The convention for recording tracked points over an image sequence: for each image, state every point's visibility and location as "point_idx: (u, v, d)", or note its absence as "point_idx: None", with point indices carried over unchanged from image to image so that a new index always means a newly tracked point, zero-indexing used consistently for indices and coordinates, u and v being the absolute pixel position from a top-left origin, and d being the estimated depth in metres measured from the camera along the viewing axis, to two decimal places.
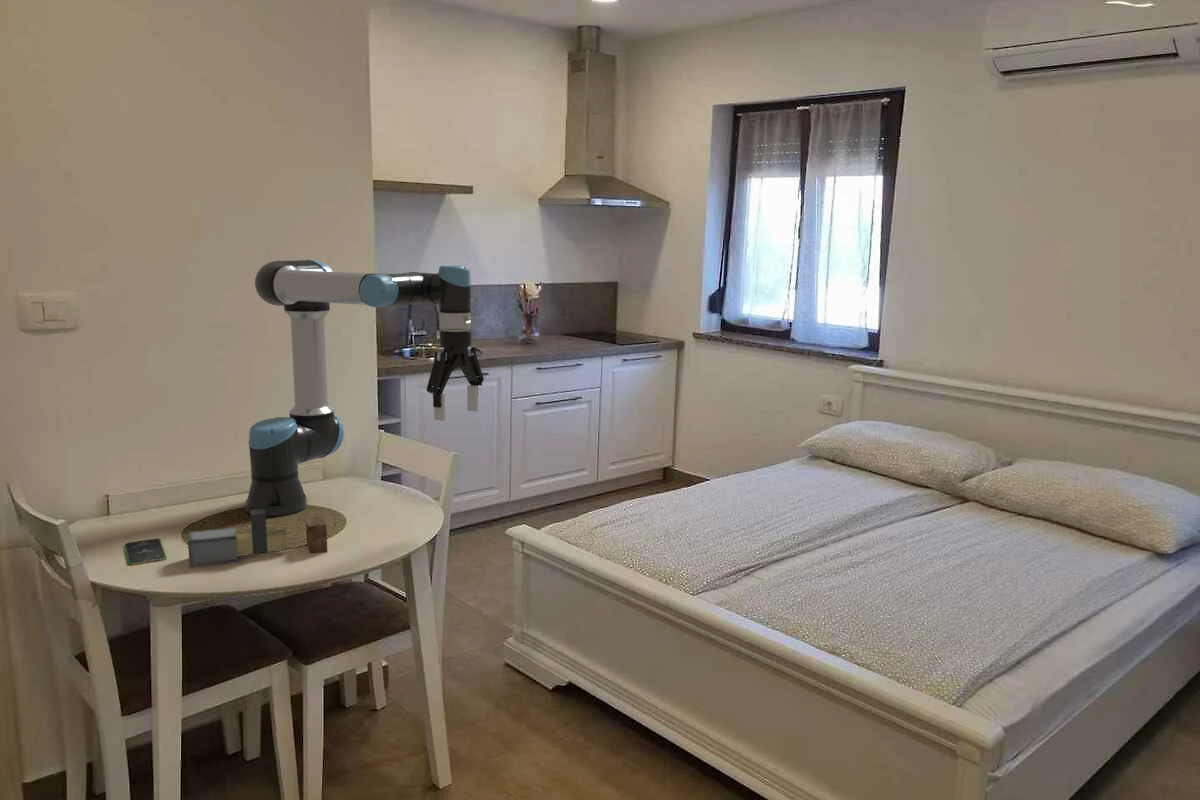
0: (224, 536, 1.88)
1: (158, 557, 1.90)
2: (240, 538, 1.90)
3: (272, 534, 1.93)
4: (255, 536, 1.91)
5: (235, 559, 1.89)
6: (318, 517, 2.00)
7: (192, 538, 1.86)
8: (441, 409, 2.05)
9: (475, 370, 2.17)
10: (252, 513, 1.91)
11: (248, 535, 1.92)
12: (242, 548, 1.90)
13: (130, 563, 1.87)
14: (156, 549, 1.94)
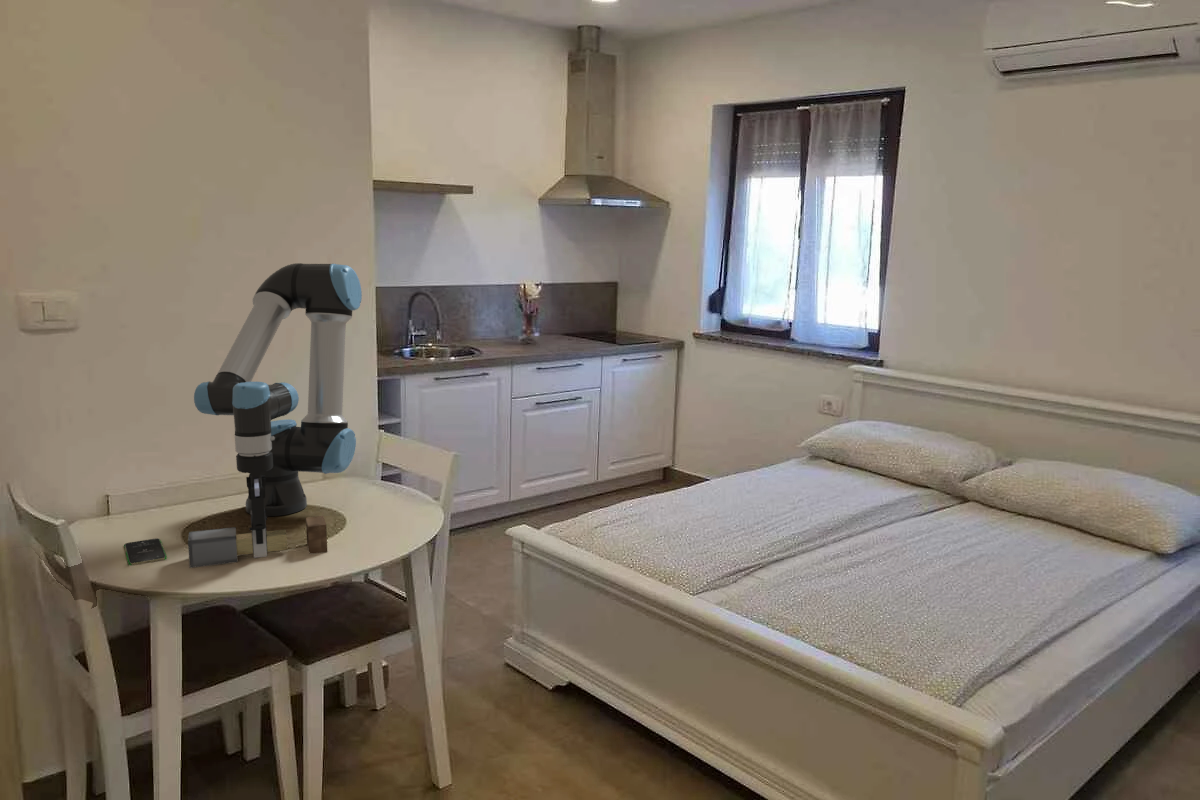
0: (224, 536, 1.88)
1: (158, 557, 1.90)
2: (240, 538, 1.90)
3: (272, 534, 1.93)
4: None
5: (235, 559, 1.89)
6: (318, 517, 2.00)
7: (192, 538, 1.86)
8: (263, 544, 1.91)
9: None
10: None
11: (248, 535, 1.92)
12: (242, 548, 1.90)
13: (130, 563, 1.87)
14: (156, 549, 1.94)
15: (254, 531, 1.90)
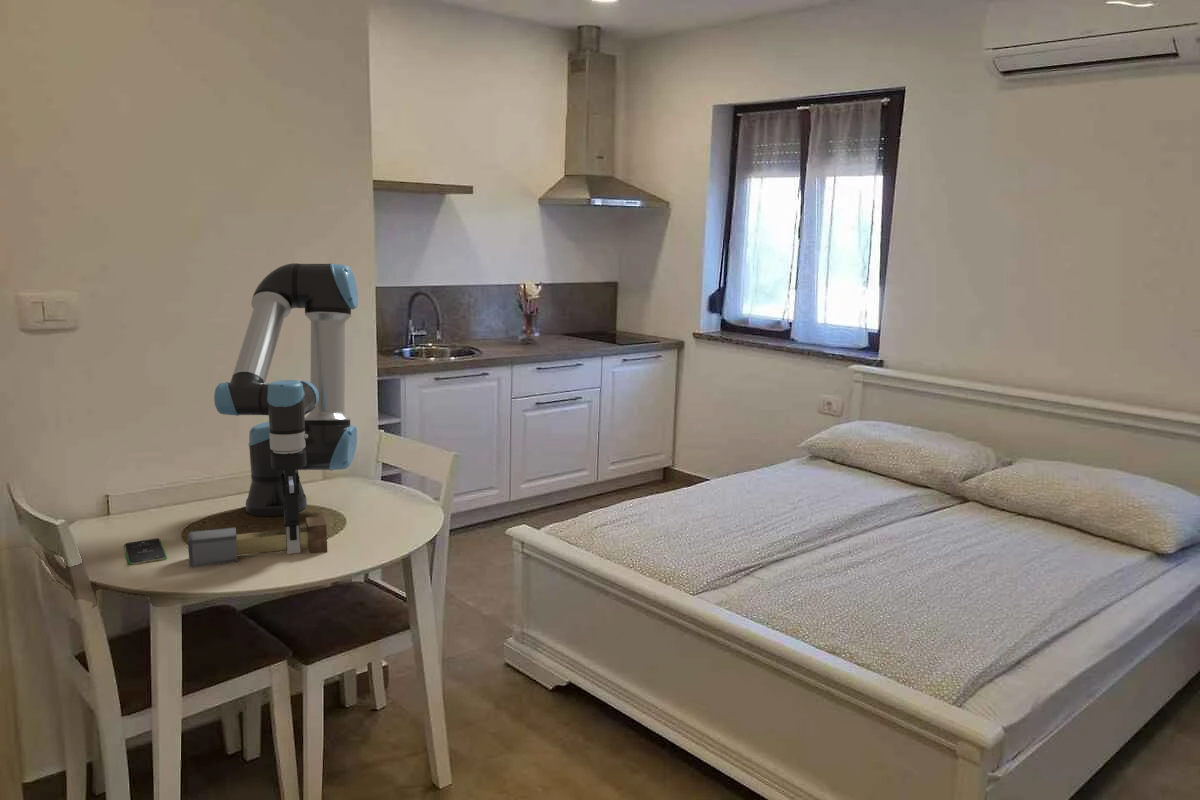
0: (224, 536, 1.88)
1: (158, 557, 1.90)
2: (274, 535, 1.93)
3: (305, 530, 1.96)
4: None
5: (235, 559, 1.89)
6: (318, 517, 2.00)
7: (192, 538, 1.86)
8: (297, 541, 1.94)
9: None
10: None
11: (281, 531, 1.95)
12: (276, 544, 1.93)
13: (130, 563, 1.87)
14: (156, 549, 1.94)
15: (288, 527, 1.93)
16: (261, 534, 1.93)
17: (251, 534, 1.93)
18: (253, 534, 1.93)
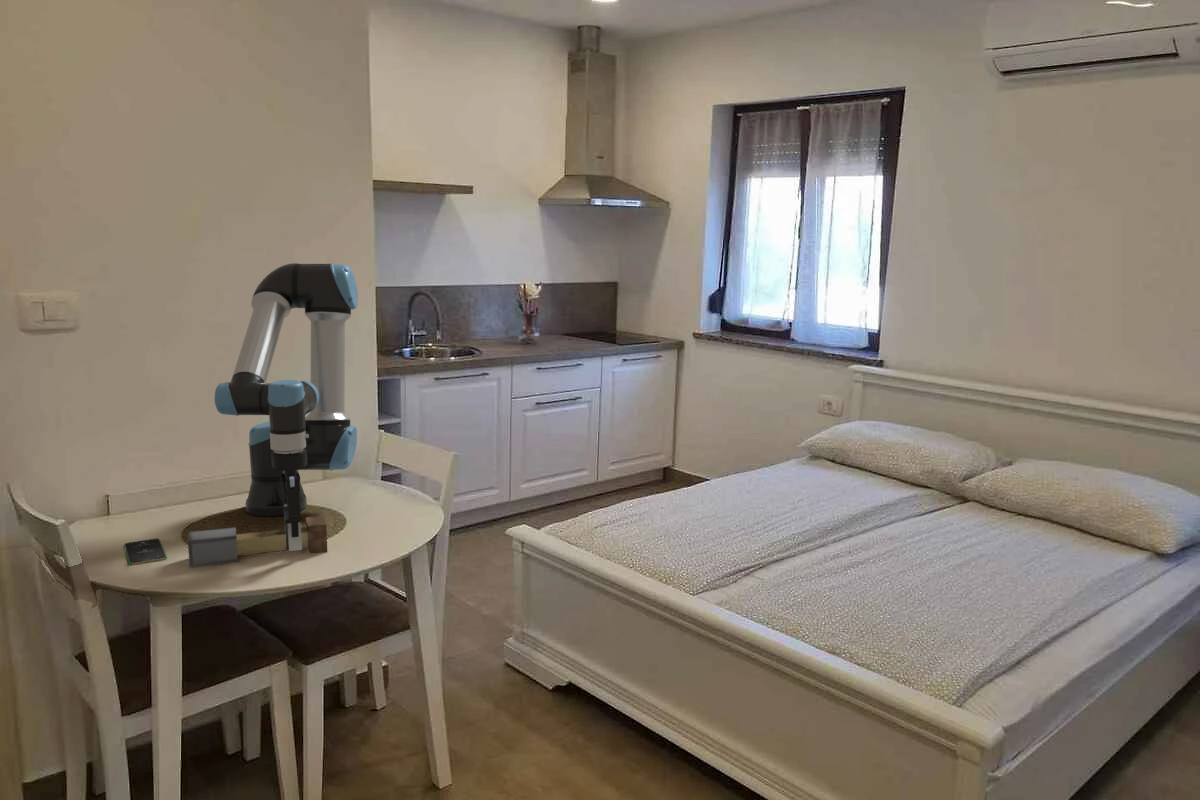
0: (224, 536, 1.88)
1: (158, 557, 1.90)
2: (274, 535, 1.93)
3: (305, 530, 1.96)
4: None
5: (235, 559, 1.89)
6: (318, 517, 2.00)
7: (192, 538, 1.86)
8: (299, 537, 1.90)
9: None
10: (285, 510, 1.94)
11: (281, 531, 1.95)
12: (276, 544, 1.93)
13: (130, 563, 1.87)
14: (156, 549, 1.94)
15: (289, 524, 1.88)
16: (261, 534, 1.93)
17: (251, 534, 1.93)
18: (253, 534, 1.93)
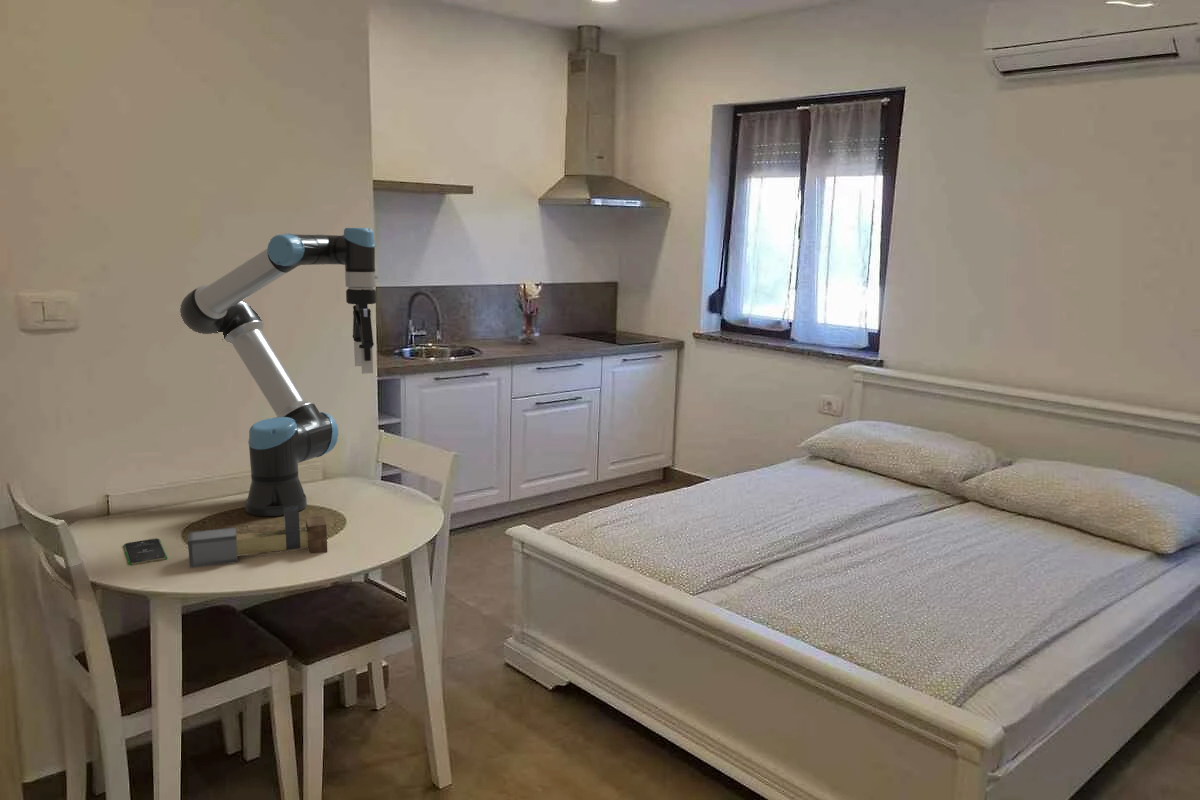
0: (224, 536, 1.88)
1: (159, 557, 1.90)
2: (274, 535, 1.93)
3: (305, 530, 1.96)
4: (288, 532, 1.94)
5: (235, 559, 1.89)
6: (318, 517, 2.00)
7: (192, 538, 1.86)
8: (370, 362, 2.19)
9: None
10: (285, 510, 1.94)
11: (281, 531, 1.95)
12: (276, 544, 1.93)
13: (131, 563, 1.87)
14: (156, 549, 1.95)
15: (363, 349, 2.18)
16: (261, 534, 1.93)
17: (251, 534, 1.93)
18: (253, 534, 1.93)
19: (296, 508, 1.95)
